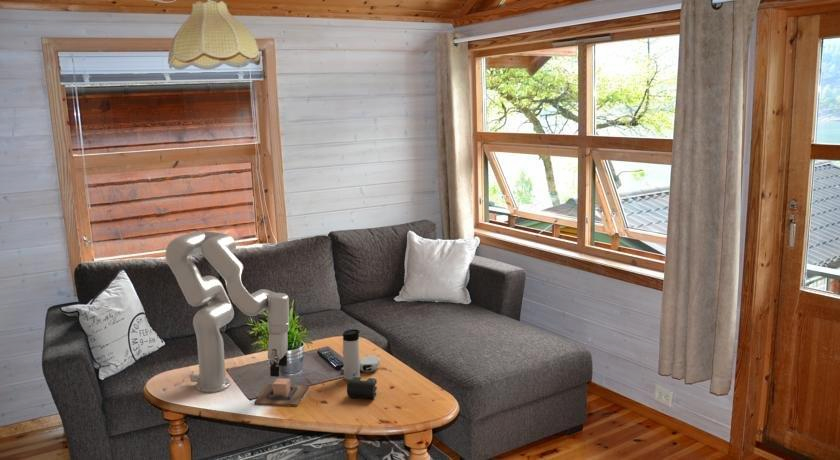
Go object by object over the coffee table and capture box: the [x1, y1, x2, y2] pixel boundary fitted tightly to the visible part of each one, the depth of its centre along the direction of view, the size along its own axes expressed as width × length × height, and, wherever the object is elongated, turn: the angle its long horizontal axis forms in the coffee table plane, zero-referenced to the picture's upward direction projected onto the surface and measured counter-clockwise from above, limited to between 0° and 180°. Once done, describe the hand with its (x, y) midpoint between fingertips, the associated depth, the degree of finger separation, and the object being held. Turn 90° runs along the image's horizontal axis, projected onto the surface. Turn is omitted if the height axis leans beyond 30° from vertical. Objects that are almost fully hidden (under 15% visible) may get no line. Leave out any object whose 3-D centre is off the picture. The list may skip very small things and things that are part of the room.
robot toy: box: [340, 354, 381, 373], centre depth 281 cm, size 12×4×15 cm
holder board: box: [253, 383, 310, 407], centre depth 256 cm, size 16×16×2 cm
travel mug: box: [342, 329, 361, 382], centre depth 270 cm, size 6×7×20 cm
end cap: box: [346, 376, 378, 400], centre depth 255 cm, size 10×7×7 cm
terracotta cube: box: [272, 377, 291, 395], centre depth 256 cm, size 5×5×5 cm
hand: (278, 370), depth 255 cm, fingers open, 9 cm apart
